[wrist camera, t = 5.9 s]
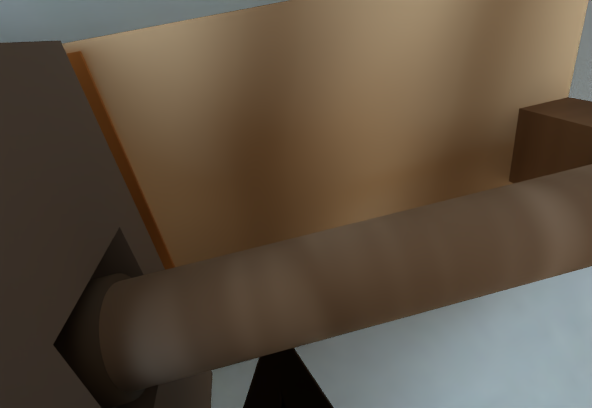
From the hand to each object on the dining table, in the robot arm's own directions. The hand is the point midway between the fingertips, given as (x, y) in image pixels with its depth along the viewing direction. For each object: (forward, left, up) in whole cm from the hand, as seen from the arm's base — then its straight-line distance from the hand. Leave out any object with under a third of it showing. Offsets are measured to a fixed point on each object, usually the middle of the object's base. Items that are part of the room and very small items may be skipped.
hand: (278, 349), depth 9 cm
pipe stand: (+3, -1, -4) cm, 5 cm away
